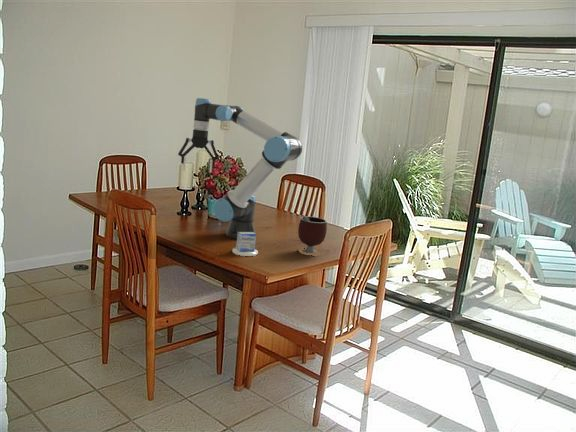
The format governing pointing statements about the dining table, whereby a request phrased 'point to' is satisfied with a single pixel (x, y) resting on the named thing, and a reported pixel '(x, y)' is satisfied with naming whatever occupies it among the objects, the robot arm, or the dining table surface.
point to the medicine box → (246, 241)
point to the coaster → (250, 253)
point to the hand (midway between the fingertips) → (197, 171)
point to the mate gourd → (312, 232)
